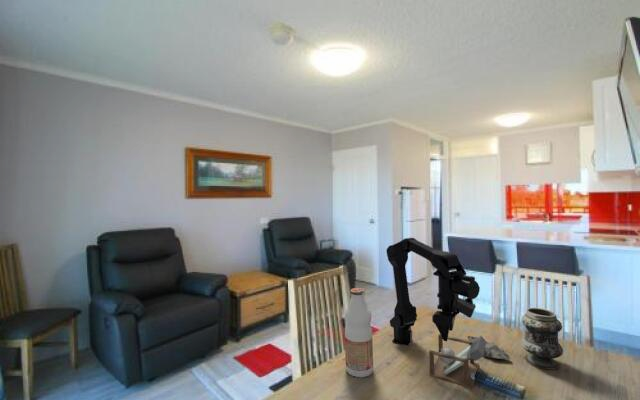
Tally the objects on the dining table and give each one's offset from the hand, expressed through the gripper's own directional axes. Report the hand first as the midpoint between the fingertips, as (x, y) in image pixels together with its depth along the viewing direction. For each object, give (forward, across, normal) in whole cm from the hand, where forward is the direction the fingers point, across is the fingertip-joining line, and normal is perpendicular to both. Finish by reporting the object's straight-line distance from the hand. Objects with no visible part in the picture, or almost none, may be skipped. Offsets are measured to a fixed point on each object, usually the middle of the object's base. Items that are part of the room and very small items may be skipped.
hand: (448, 335), depth 107 cm
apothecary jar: (+12, +20, -27) cm, 36 cm away
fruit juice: (+12, -16, +26) cm, 33 cm away
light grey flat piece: (+7, 0, -6) cm, 9 cm away
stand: (+12, 0, -2) cm, 12 cm away
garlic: (+9, 0, -1) cm, 9 cm away
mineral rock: (+12, +18, -10) cm, 24 cm away
